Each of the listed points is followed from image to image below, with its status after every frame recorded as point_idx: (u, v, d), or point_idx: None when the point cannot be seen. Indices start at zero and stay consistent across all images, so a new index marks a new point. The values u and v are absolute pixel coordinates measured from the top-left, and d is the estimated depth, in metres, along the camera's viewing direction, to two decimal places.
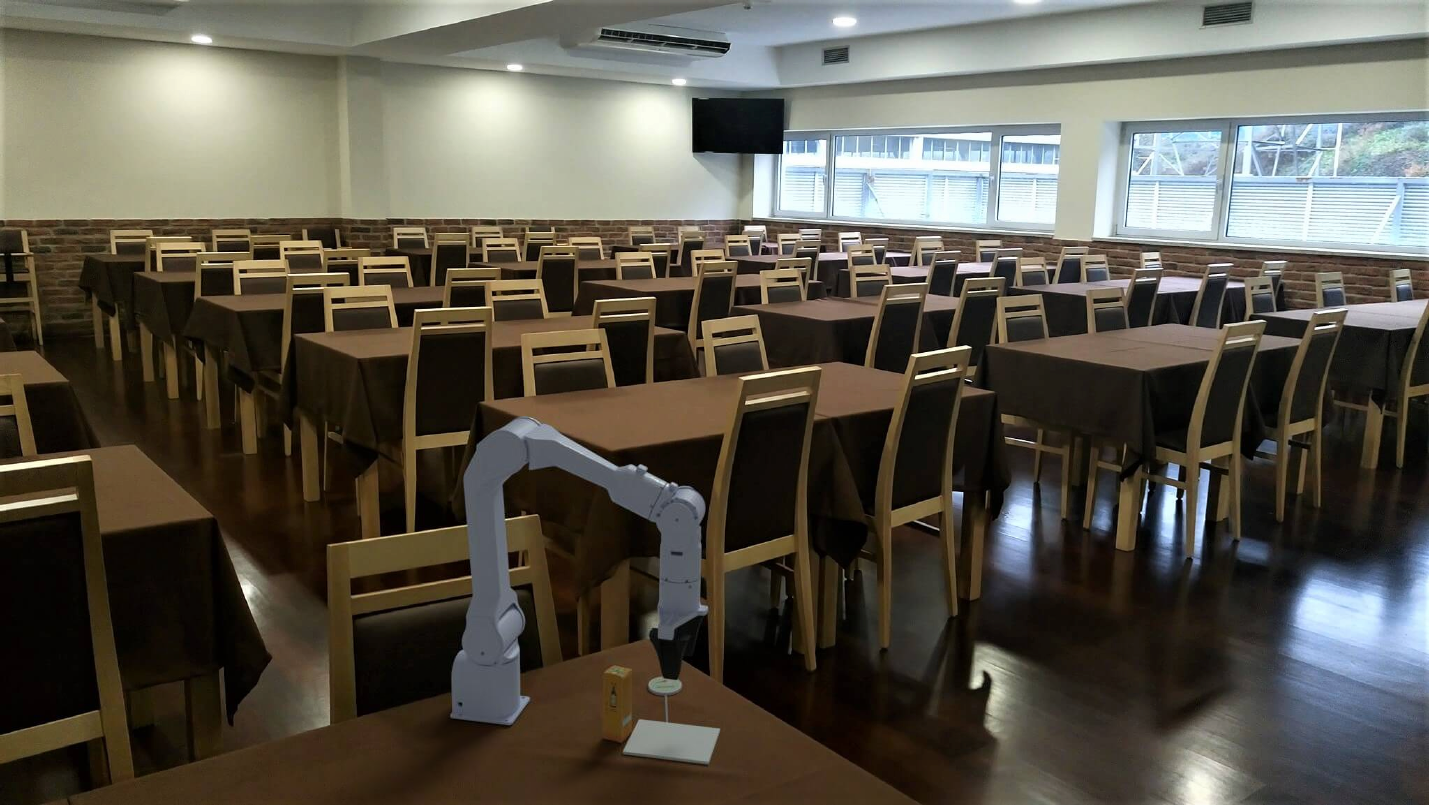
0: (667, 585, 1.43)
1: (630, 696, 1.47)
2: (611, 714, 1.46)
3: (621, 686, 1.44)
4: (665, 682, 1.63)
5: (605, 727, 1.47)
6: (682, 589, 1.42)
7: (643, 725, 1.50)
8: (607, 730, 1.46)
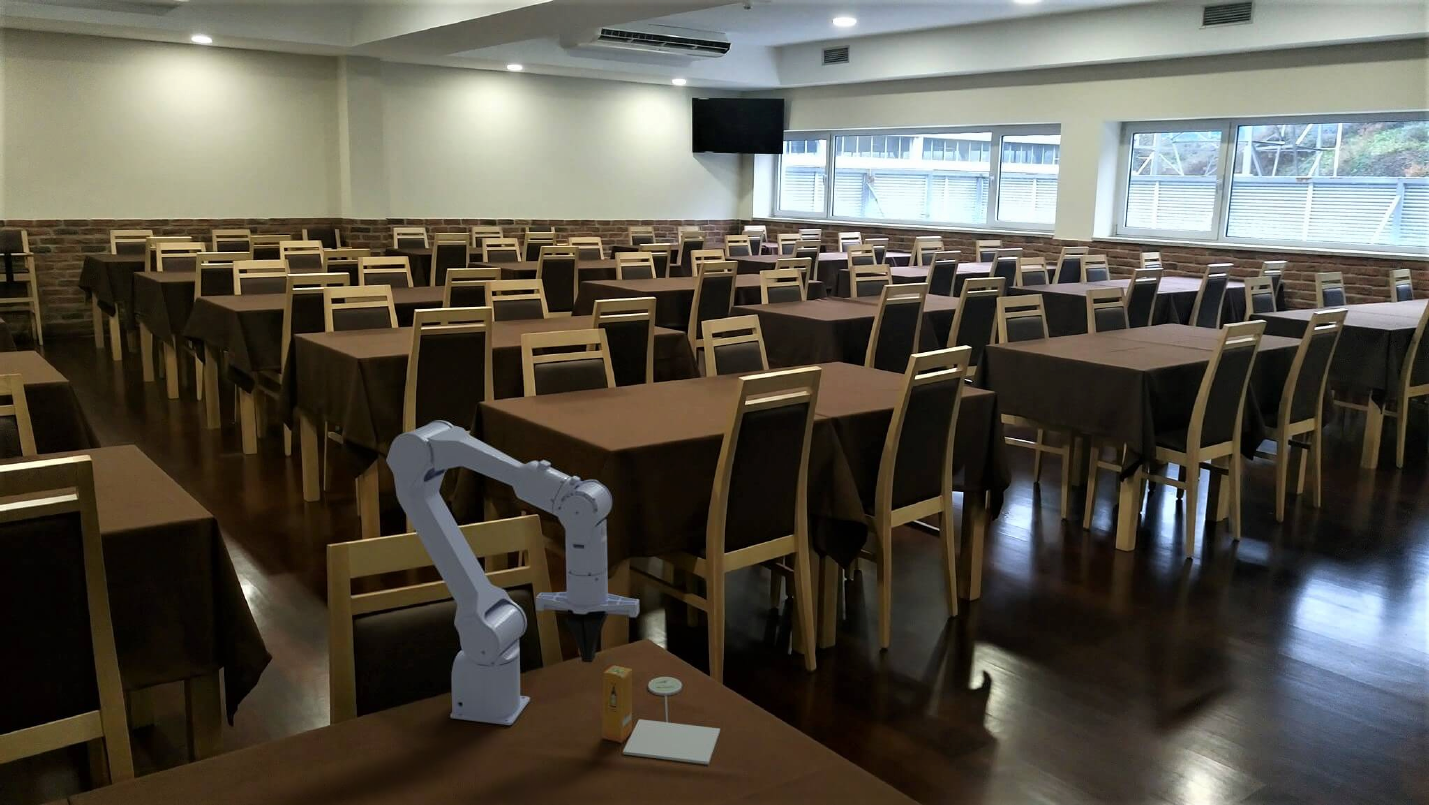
0: None
1: (630, 696, 1.47)
2: (611, 714, 1.46)
3: (621, 686, 1.44)
4: (665, 682, 1.63)
5: (605, 727, 1.47)
6: (566, 576, 1.45)
7: (643, 725, 1.50)
8: (607, 730, 1.46)
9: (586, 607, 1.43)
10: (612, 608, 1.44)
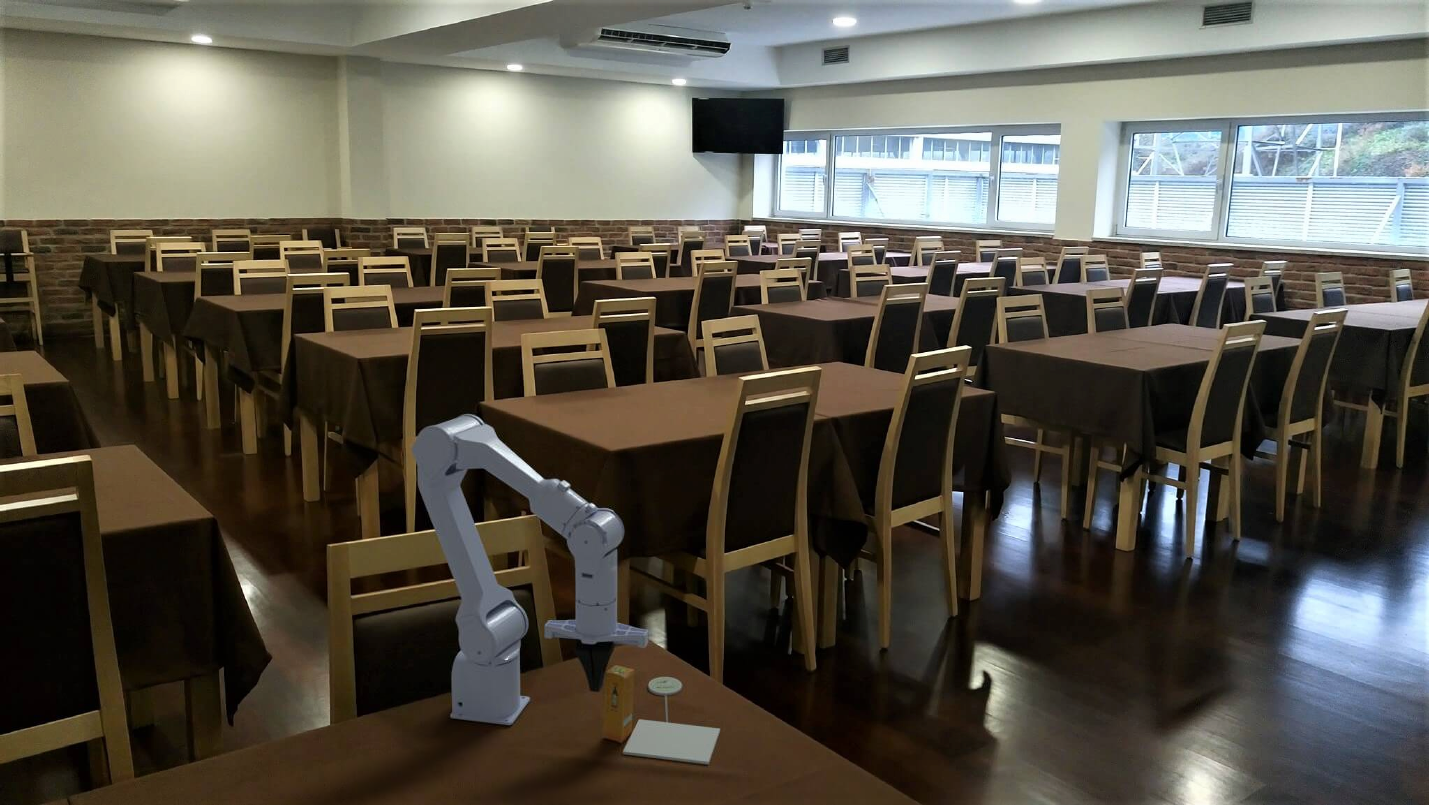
0: None
1: (631, 696, 1.47)
2: (612, 714, 1.46)
3: (623, 687, 1.44)
4: (665, 682, 1.63)
5: (605, 726, 1.46)
6: None
7: (643, 725, 1.50)
8: (607, 730, 1.46)
9: (595, 637, 1.42)
10: (621, 638, 1.43)
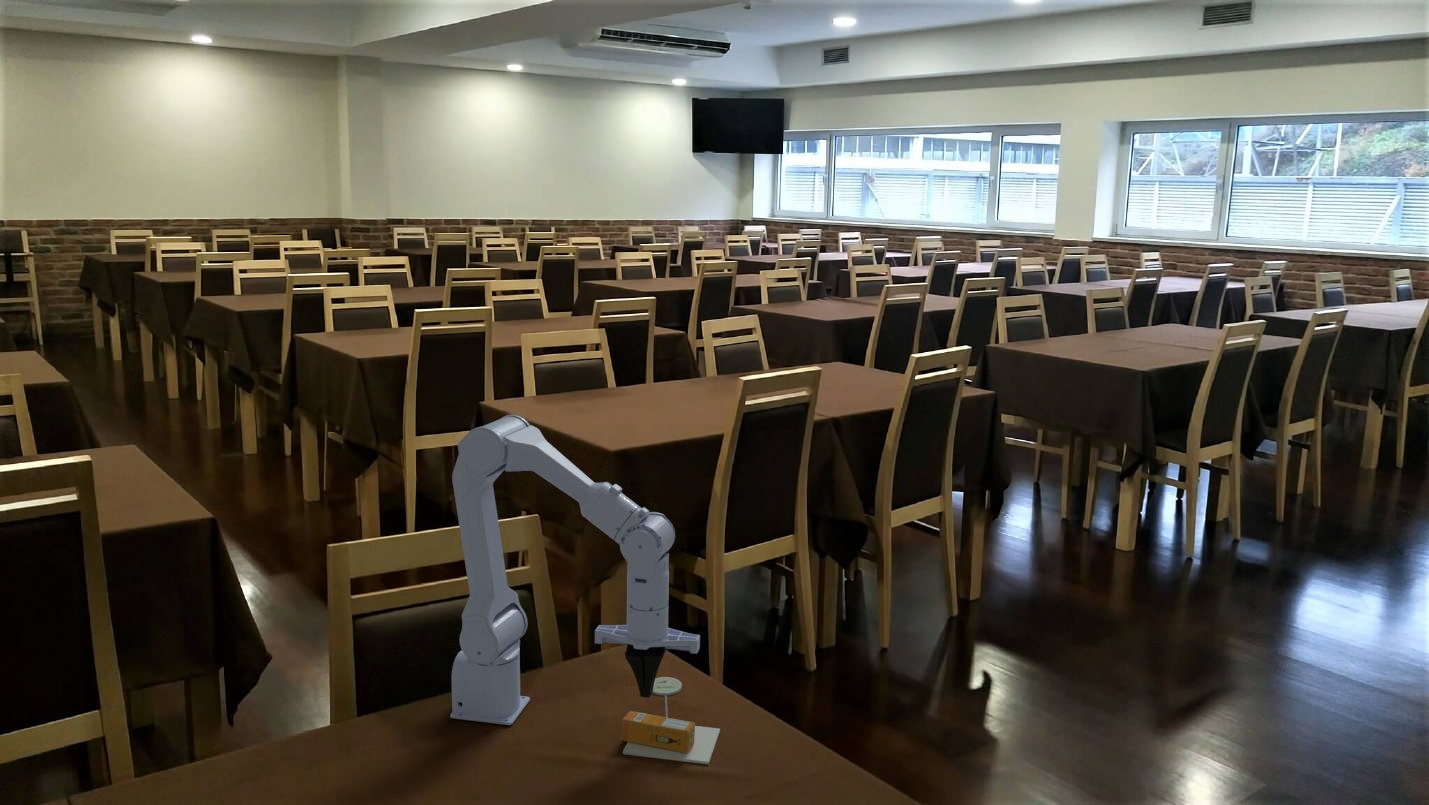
0: None
1: None
2: (648, 734, 1.44)
3: (678, 750, 1.43)
4: (665, 682, 1.63)
5: (634, 725, 1.45)
6: (627, 610, 1.43)
7: None
8: (631, 727, 1.45)
9: (647, 642, 1.41)
10: (673, 644, 1.42)
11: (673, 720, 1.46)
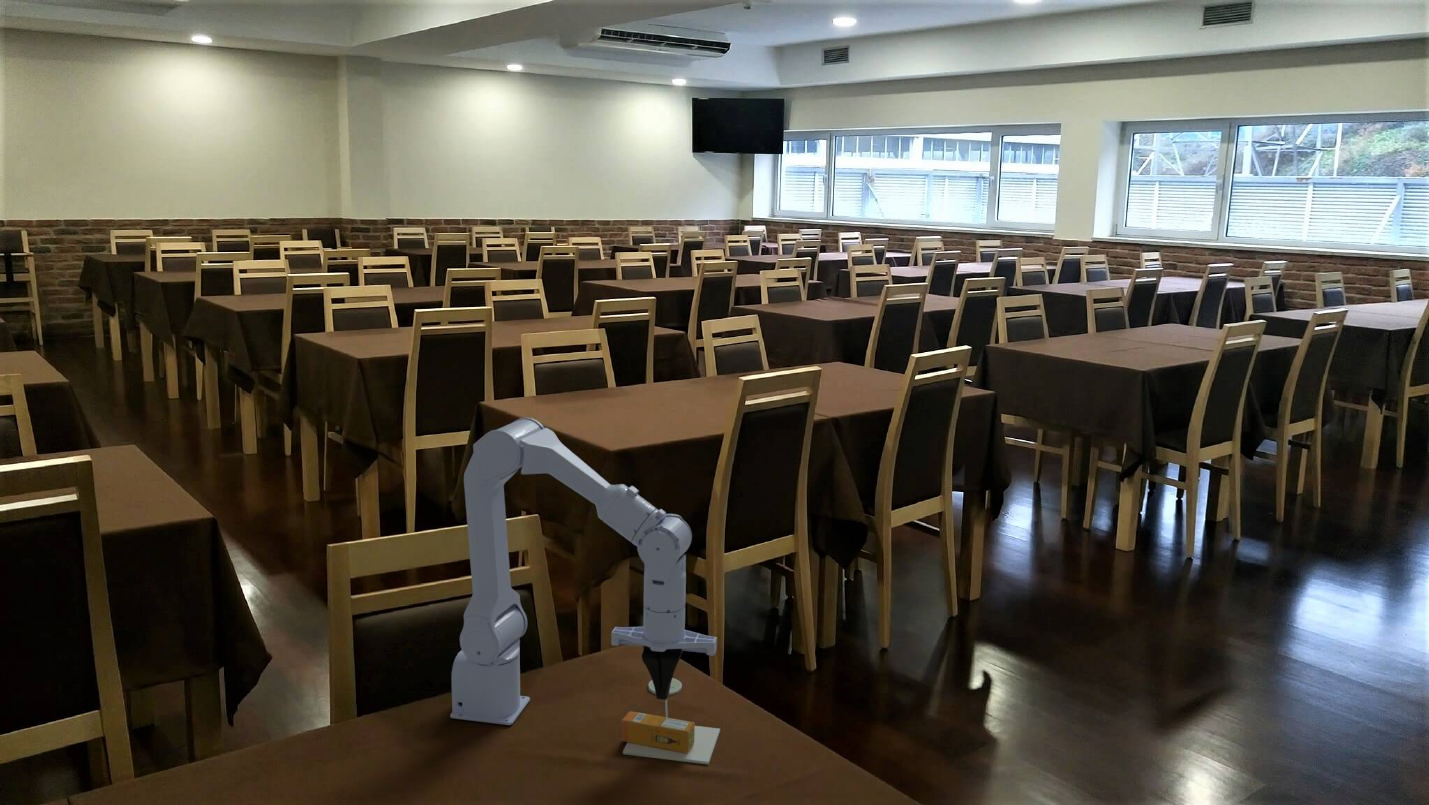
0: None
1: None
2: (647, 735, 1.44)
3: (678, 751, 1.43)
4: None
5: (633, 726, 1.45)
6: (644, 612, 1.42)
7: None
8: (630, 727, 1.45)
9: (664, 644, 1.40)
10: (690, 646, 1.41)
11: (673, 720, 1.46)
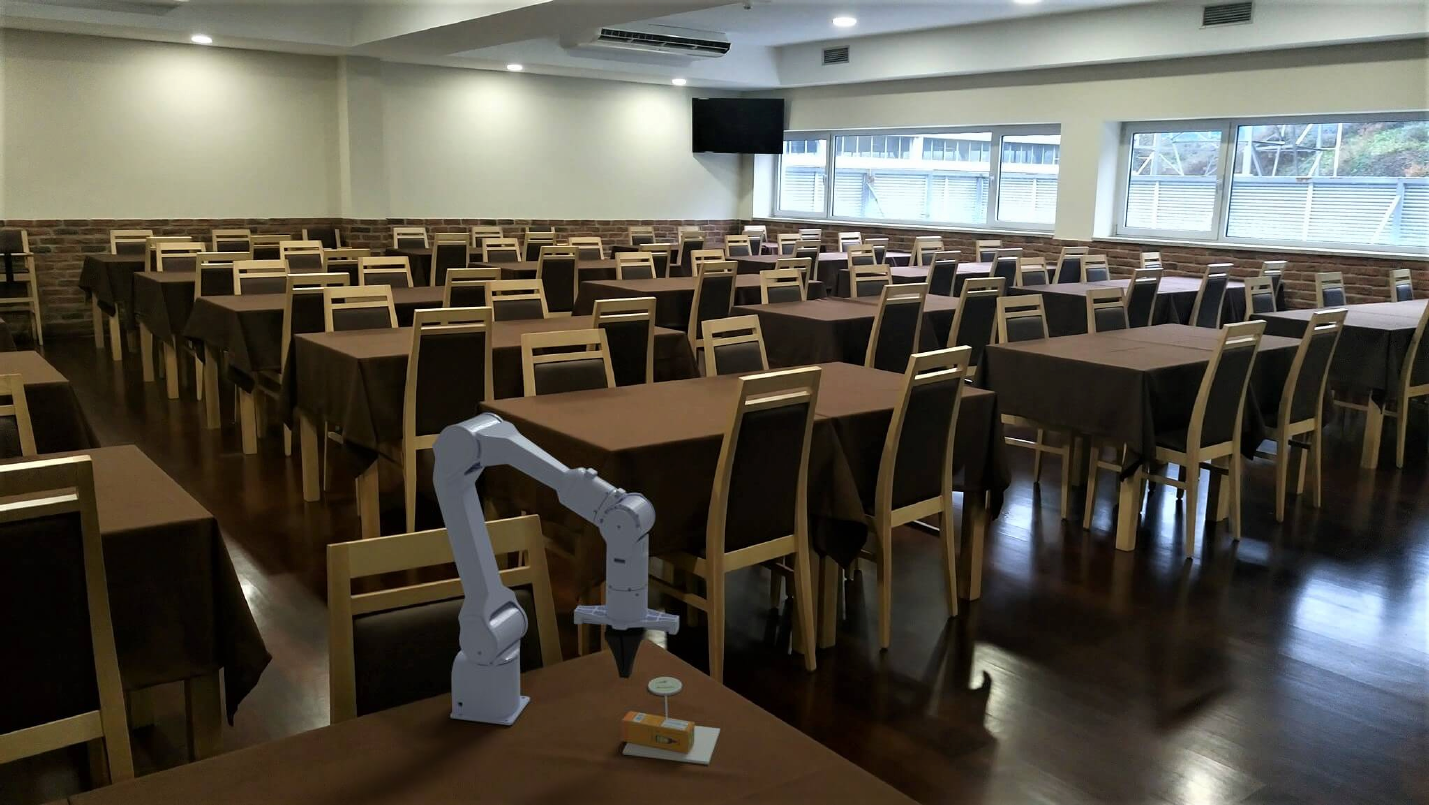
0: None
1: None
2: (647, 735, 1.44)
3: (678, 751, 1.43)
4: (665, 682, 1.63)
5: (633, 726, 1.45)
6: (606, 590, 1.43)
7: None
8: (630, 727, 1.45)
9: (626, 623, 1.41)
10: (652, 624, 1.42)
11: (673, 720, 1.46)
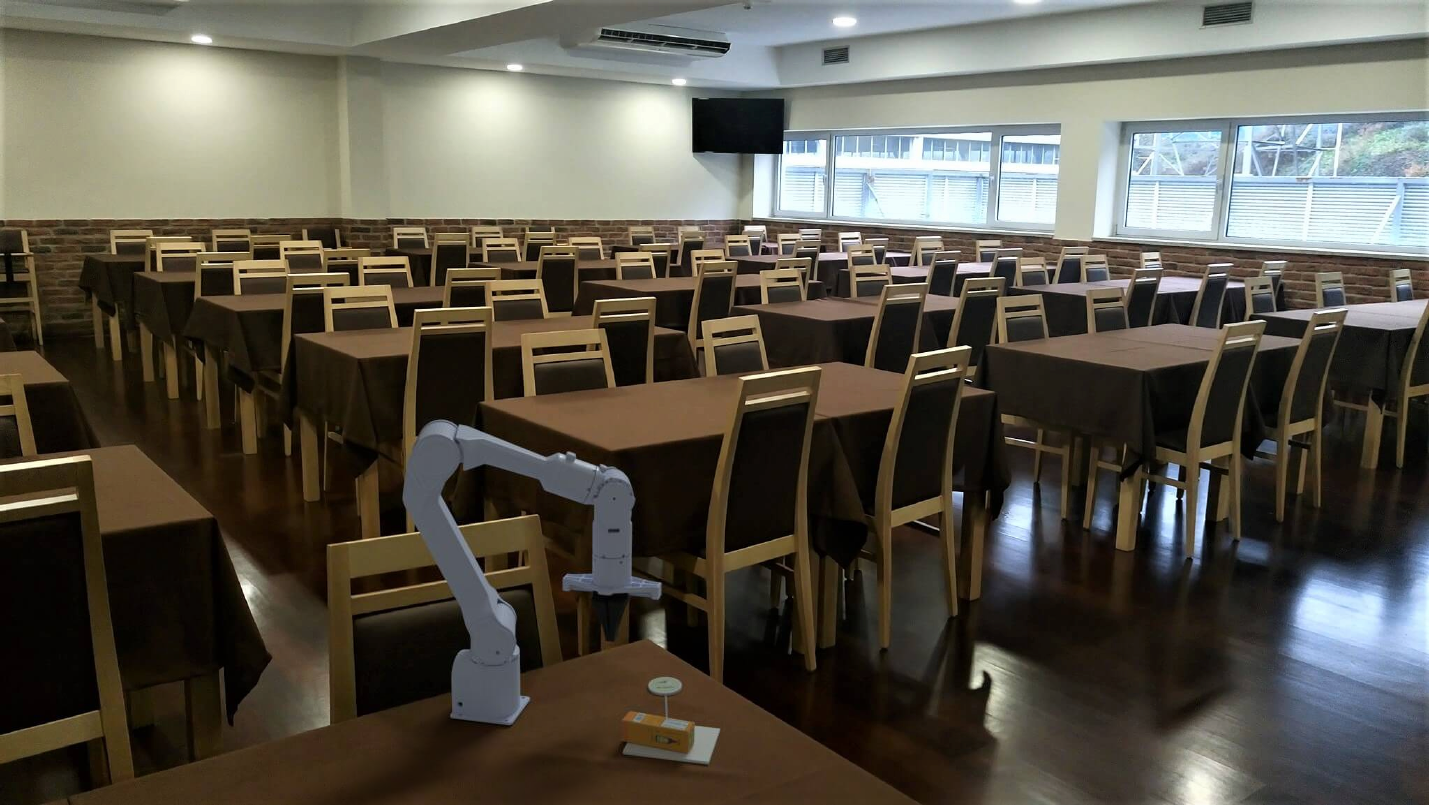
0: None
1: None
2: (647, 735, 1.44)
3: (678, 751, 1.43)
4: (665, 683, 1.63)
5: (633, 726, 1.45)
6: (592, 558, 1.52)
7: None
8: (630, 727, 1.45)
9: (611, 589, 1.50)
10: (635, 590, 1.51)
11: (673, 720, 1.46)
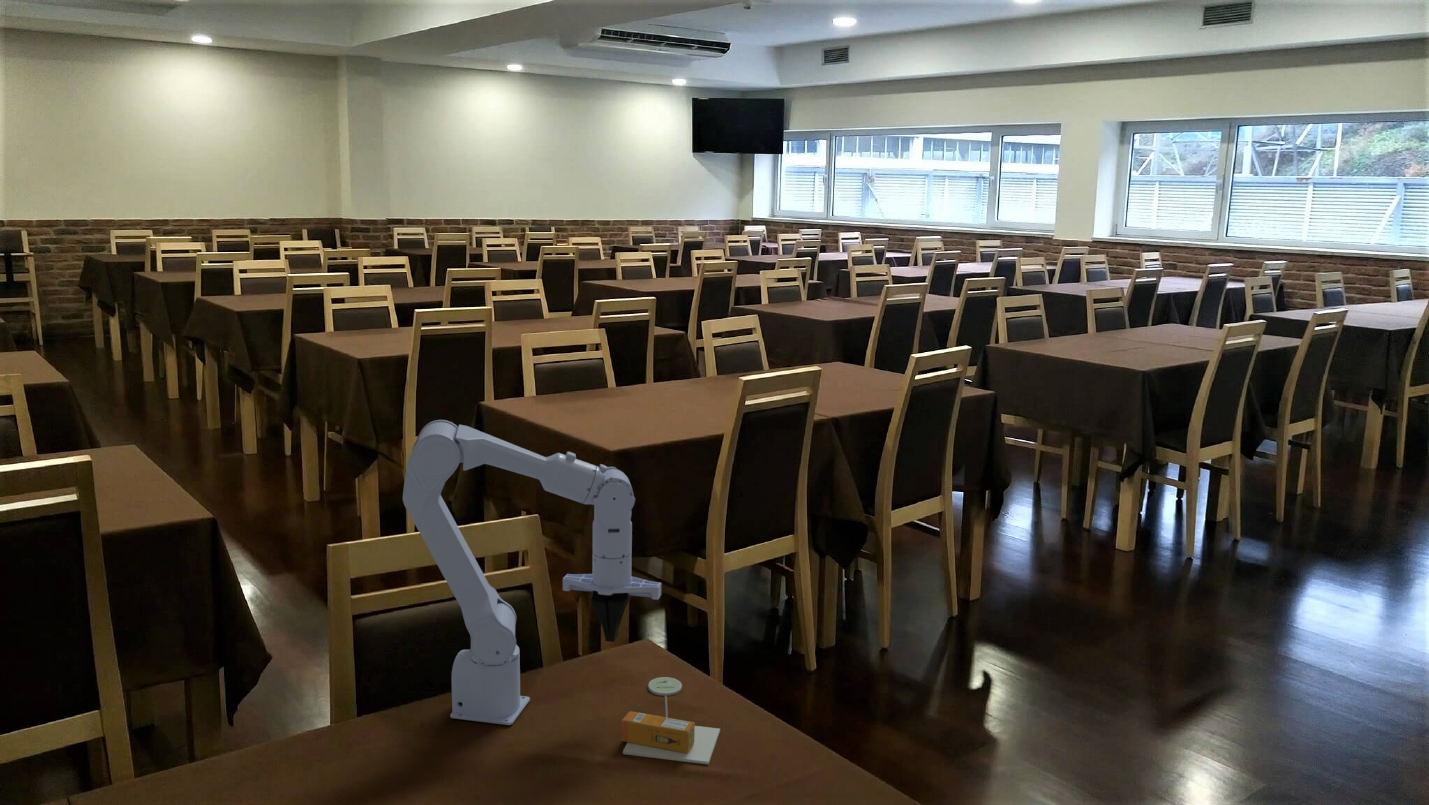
0: None
1: None
2: (647, 735, 1.44)
3: (678, 751, 1.43)
4: (665, 683, 1.63)
5: (633, 726, 1.45)
6: (592, 558, 1.52)
7: None
8: (630, 727, 1.45)
9: (611, 589, 1.50)
10: (635, 590, 1.51)
11: (673, 720, 1.46)
